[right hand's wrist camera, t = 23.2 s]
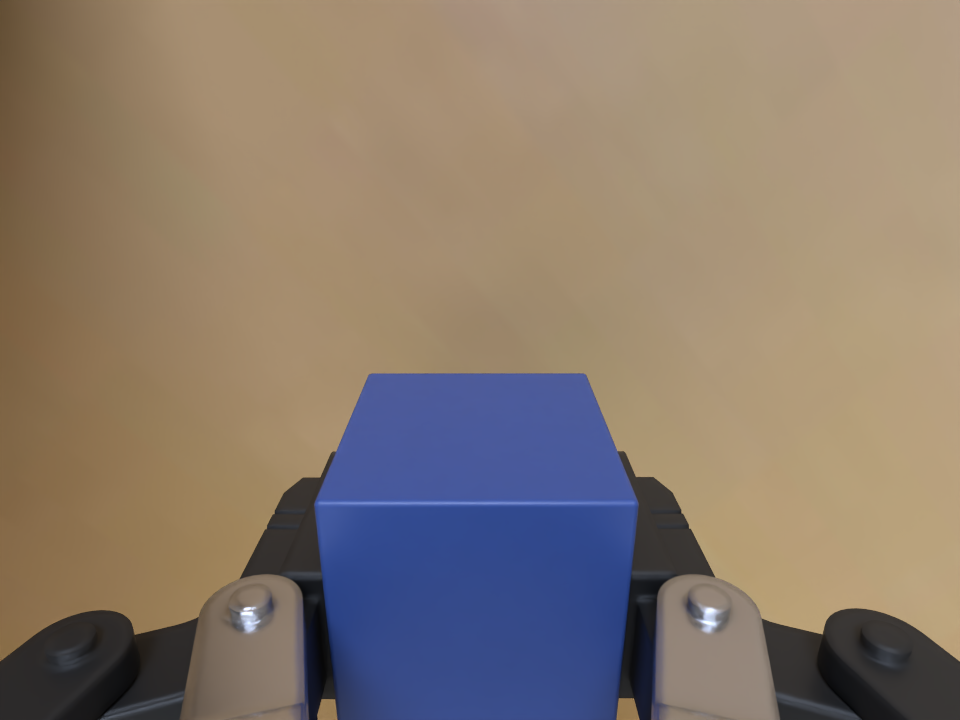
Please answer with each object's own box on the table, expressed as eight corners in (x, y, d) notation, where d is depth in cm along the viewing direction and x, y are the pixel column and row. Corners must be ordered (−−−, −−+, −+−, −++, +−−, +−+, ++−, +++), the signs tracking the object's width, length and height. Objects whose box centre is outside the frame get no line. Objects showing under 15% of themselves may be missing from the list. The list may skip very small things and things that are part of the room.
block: (368, 371, 12) (311, 502, 8) (586, 371, 12) (641, 502, 8) (382, 589, 14) (343, 785, 10) (572, 589, 14) (610, 785, 10)
